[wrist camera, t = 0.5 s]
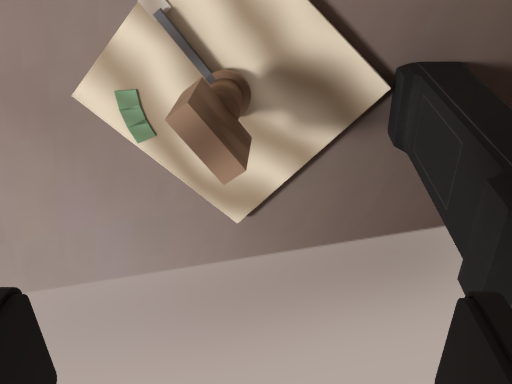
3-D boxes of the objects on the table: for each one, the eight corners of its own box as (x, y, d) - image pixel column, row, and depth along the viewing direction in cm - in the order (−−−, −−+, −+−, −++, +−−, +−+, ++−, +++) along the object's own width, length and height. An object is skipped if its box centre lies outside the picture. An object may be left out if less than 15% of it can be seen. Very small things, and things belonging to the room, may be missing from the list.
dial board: (213, -101, 32) (210, -102, 31) (387, 82, 38) (391, 89, 37) (78, 90, 40) (70, 96, 39) (238, 215, 47) (237, 224, 45)
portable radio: (450, 144, 41) (626, 381, 20) (385, 144, 41) (488, 376, 20) (469, 60, 37) (717, 243, 16) (396, 61, 37) (541, 241, 16)
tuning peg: (267, 105, 38) (260, 161, 29) (228, 132, 40) (210, 193, 31) (178, -9, 34) (138, 15, 25) (139, 27, 35) (87, 61, 26)
